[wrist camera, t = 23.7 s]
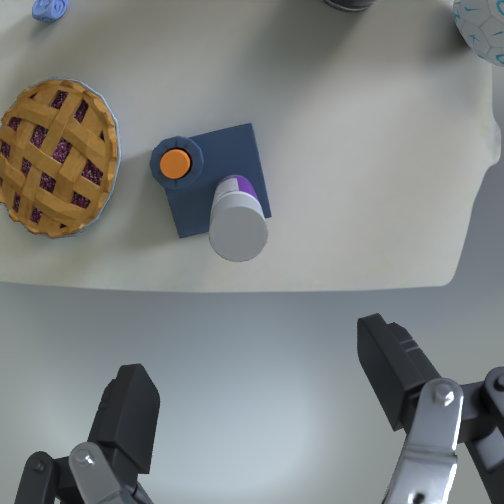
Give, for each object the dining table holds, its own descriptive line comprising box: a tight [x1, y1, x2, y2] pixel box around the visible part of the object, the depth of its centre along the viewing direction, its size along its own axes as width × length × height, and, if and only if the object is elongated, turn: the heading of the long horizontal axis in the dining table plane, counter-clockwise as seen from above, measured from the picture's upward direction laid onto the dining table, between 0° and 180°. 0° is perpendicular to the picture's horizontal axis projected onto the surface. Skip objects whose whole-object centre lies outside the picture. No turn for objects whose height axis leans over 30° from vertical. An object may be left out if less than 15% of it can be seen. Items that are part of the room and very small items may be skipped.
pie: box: [0, 77, 121, 239], centre depth 31 cm, size 22×22×5 cm
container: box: [209, 175, 268, 262], centre depth 29 cm, size 5×5×15 cm
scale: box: [150, 123, 272, 238], centre depth 35 cm, size 12×12×4 cm
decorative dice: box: [32, 0, 68, 22], centre depth 22 cm, size 4×4×4 cm
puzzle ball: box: [453, 0, 504, 67], centre depth 22 cm, size 15×15×15 cm
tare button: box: [160, 149, 190, 179], centre depth 32 cm, size 3×3×2 cm
